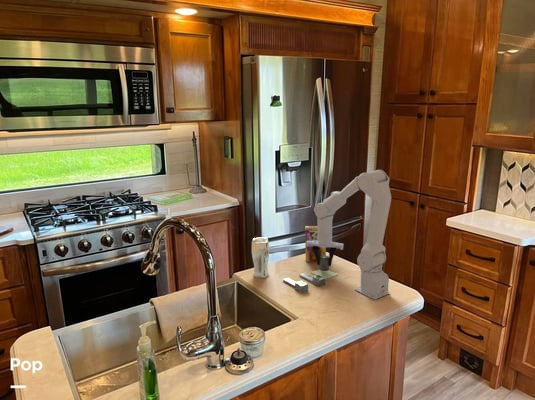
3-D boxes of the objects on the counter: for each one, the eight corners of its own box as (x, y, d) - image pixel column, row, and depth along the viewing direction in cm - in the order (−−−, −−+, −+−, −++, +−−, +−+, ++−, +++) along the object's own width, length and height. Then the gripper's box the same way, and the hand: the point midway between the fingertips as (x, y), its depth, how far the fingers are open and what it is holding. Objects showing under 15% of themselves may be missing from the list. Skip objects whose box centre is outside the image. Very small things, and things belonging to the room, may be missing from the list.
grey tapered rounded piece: (330, 270, 160) (330, 258, 159) (320, 271, 159) (320, 259, 158) (323, 261, 169) (323, 250, 168) (314, 262, 169) (314, 251, 168)
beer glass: (249, 275, 163) (247, 240, 159) (262, 270, 167) (261, 236, 164) (259, 280, 158) (258, 244, 154) (273, 275, 162) (272, 240, 159)
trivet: (337, 275, 161) (337, 274, 161) (324, 279, 157) (324, 278, 157) (324, 268, 167) (324, 268, 167) (311, 273, 163) (311, 272, 163)
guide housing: (325, 284, 153) (325, 278, 152) (301, 292, 146) (301, 286, 146) (305, 274, 162) (305, 268, 162) (282, 281, 156) (282, 275, 156)
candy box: (325, 258, 179) (325, 225, 175) (325, 262, 174) (326, 228, 171) (305, 258, 179) (305, 225, 176) (305, 261, 175) (305, 228, 172)
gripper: (304, 233, 157) (304, 266, 160) (341, 236, 152) (341, 270, 155) (308, 228, 163) (308, 260, 166) (344, 231, 159) (343, 263, 162)
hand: (324, 264), depth 161 cm, fingers closed on grey tapered rounded piece, 4 cm apart
